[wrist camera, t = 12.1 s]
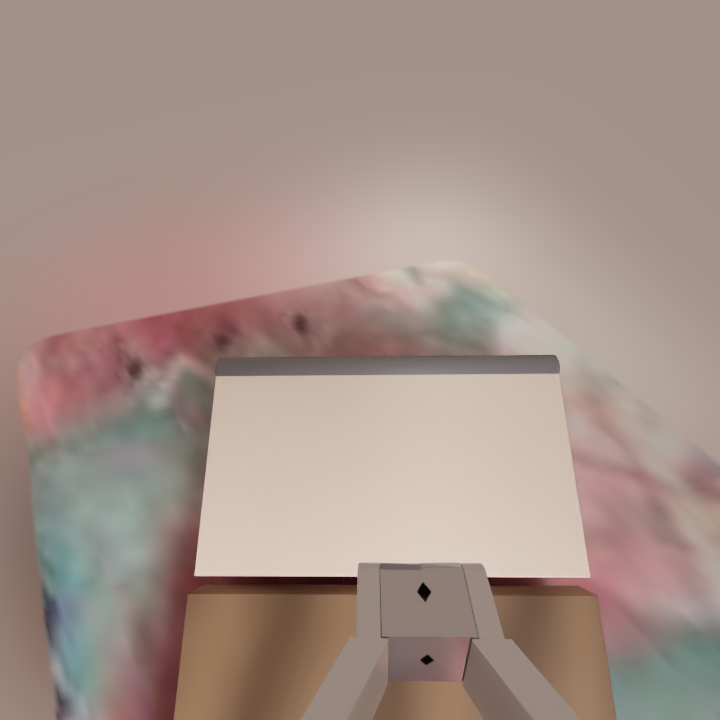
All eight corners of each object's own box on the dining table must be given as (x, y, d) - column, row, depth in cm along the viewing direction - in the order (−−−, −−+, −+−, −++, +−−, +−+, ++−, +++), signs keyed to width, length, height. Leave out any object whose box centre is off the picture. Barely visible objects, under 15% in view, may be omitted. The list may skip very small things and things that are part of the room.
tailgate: (576, 571, 22) (546, 359, 25) (592, 578, 20) (557, 351, 24) (204, 570, 22) (226, 362, 26) (192, 576, 21) (217, 354, 24)
